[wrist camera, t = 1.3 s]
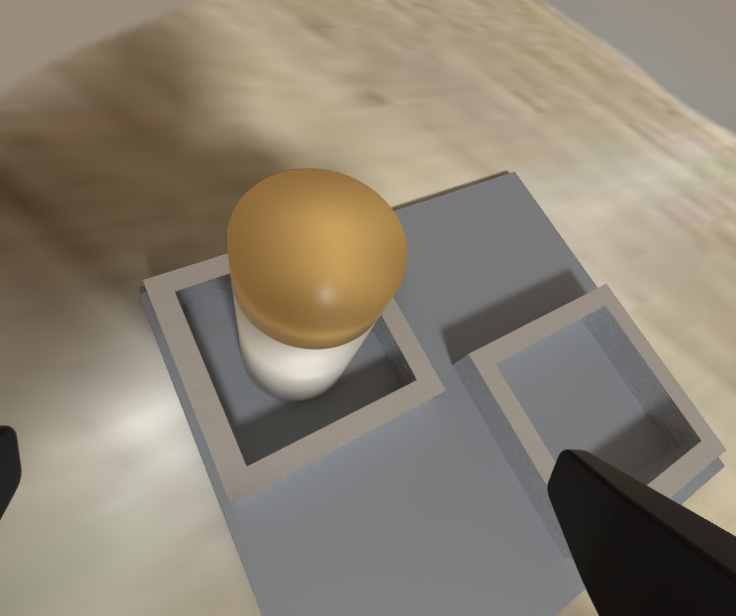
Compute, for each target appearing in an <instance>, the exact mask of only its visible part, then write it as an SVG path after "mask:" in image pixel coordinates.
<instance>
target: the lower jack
mask: <svg viewBox="0 0 736 616" xmlns="http://www.w3.org/2000/svg"><path fill="white" fill-rule="evenodd" d="M580 319H582V321H583V322H584V323H585V325H586V326H587V328H588V329H589V331H590V332H591V334H592V335H593V337H594V338H595V340H596V341H597V342H598V344H599V345H600V347H601V348H602V350H603V351H604V353H605V354H606V356H607V357H608V358H609V360H610V361H611V363H612V364H613V366H614V367H615V369H616V370H617V372H618V373H619V374H620V376H621V377H622V379H623V380H624V382H625V383H626V385H627V386H628V388H629V389H630V390H631V392H632V393H633V395H634V396H635V398H636V399H637V401H638V402H639V404H640V405H641V406H642V408H643V409H644V411H645V412H646V414H647V415H648V417H649V418H650V420H651V421H652V422H653V424H654V425H655V427H656V428H657V430H658V431H659V433H660V434H661V436H662V437H663V438H664V440H665V441H666V443H667V444H668V446H666V447H665V448H664V449H662V450H661V451H660V452H659V453H657V454H656V455H655V456H653V457H652V458H651V459H650V460H648V461H647V462H646V463H645V464H643V465H642V466H641V467H639V468H638V469H637V470H636V471H634V472H633V473H632V474H630V476H631V477H633V478H635V479H637V480H638V481H640V482H642V483H644V484H645V485H647V486H649V487H651V488H652V489H654V490H656V491H658V492H659V493H661V494H663V495H664V496H666V497H668V498H671V497H672V496H673V495H674V494H675V493H677V492H678V491H679V490H680V489H681V488H682V487H684V486H685V485H686V484H687V483H688V482H689V481H691V480H692V479H693V478H694V477H695V476H696V475H698V474H699V473H700V472H701V471H702V470H703V469H705V468H706V467H707V466H708V465H709V464H710V463H712V462H713V461H714V460H715V459H716V458H717V457H719V456H720V455H721V454H722V453H723V452H725V451H726V449H725V448H724V446H723V445H722V443H721V442H720V441H719V439H718V438H717V436H716V435H715V434H714V432H713V431H712V430H711V428H710V427H709V425H708V424H707V423H706V421H705V420H704V418H703V417H702V416H701V414H700V413H699V412H698V410H697V409H696V407H695V406H694V405H693V403H692V402H691V400H690V399H689V398H688V396H687V395H686V394H685V392H684V391H683V389H682V388H681V387H680V385H679V384H678V382H677V381H676V380H675V378H674V377H673V376H672V374H671V373H670V371H669V370H668V369H667V367H666V366H665V364H664V363H663V362H662V360H661V359H660V358H659V356H658V355H657V353H656V352H655V351H654V349H653V348H652V346H651V345H650V344H649V342H648V341H647V340H646V338H645V337H644V335H643V334H642V333H641V331H640V330H639V328H638V327H637V326H636V324H635V323H634V321H633V320H632V319H631V317H630V316H629V315H628V313H627V312H626V310H625V309H624V308H623V306H622V305H621V303H620V302H619V301H618V299H617V298H616V297H615V295H614V294H613V292H612V291H611V290H610V288H609V287H608V285H607V284H605V285H603V286H601V287H599V288H597V289H595V290H593V291H591V292H589V293H587V294H585V295H583V296H581V297H579V298H578V299H576V300H574V301H572V302H570V303H568V304H566V305H564V306H562V307H560V308H558V309H556V310H554V311H552V312H550V313H548V314H546V315H544V316H542V317H540V318H538V319H536V320H534V321H532V322H530V323H528V324H526V325H524V326H522V327H520V328H519V329H517V330H515V331H513V332H511V333H509V334H507V335H505V336H503V337H501V338H499V339H497V340H495V341H493V342H491V343H489V344H487V345H485V346H483V347H481V348H479V349H477V350H475V351H473V352H471V353H469V354H468V355H466V356H465V357H463V358H462V359H460V360H459V361H458V362H456V363H455V364H453V365H452V366H453V368H454V370H455V371H456V373H457V375H458V376H459V378H460V380H461V382H462V383H463V385H464V387H465V389H466V390H467V392H468V394H469V395H470V397H471V399H472V401H473V402H474V404H475V406H476V408H477V409H478V411H479V413H480V414H481V416H482V418H483V420H484V421H485V423H486V425H487V427H488V428H489V430H490V432H491V434H492V435H493V437H494V439H495V440H496V442H497V444H498V446H499V447H500V449H501V451H502V453H503V454H504V456H505V458H506V459H507V461H508V463H509V465H510V466H511V468H512V470H513V472H514V473H515V475H516V477H517V478H518V480H519V482H520V484H521V485H522V487H523V489H524V491H525V492H526V494H527V496H528V498H529V499H530V501H531V503H532V504H533V506H534V508H535V510H536V511H537V513H538V515H539V517H540V518H541V520H542V522H543V523H544V525H545V527H546V529H547V530H548V532H549V534H550V536H551V537H552V539H553V541H554V542H555V544H556V546H557V548H558V549H559V551H560V553H561V555H562V556H563V558H567V559H572V560H573V558H572V555H571V553H570V550H569V548H568V545H567V542H566V540H565V537H564V535H563V532H562V530H561V527H560V525H559V522H558V520H557V517H556V515H555V512H554V510H553V507H552V504H551V502H550V499H549V496H548V492H547V485H548V481H549V478H550V476H551V473H552V471H553V468H554V466H555V463H556V462H555V461H554V459H553V458H552V456H551V454H550V453H549V451H548V449H547V448H546V446H545V444H544V443H543V441H542V439H541V438H540V436H539V435H538V433H537V431H536V430H535V428H534V426H533V425H532V423H531V421H530V420H529V418H528V416H527V415H526V413H525V411H524V410H523V408H522V407H521V405H520V403H519V402H518V400H517V398H516V397H515V395H514V393H513V392H512V390H511V388H510V387H509V385H508V384H507V382H506V380H505V379H504V377H503V375H502V374H501V372H500V370H499V369H498V367H497V365H496V364H498V363H499V362H501V361H503V360H505V359H507V358H509V357H511V356H512V355H514V354H516V353H518V352H520V351H522V350H524V349H526V348H527V347H529V346H531V345H533V344H535V343H537V342H539V341H540V340H542V339H544V338H546V337H548V336H550V335H552V334H554V333H555V332H557V331H559V330H561V329H563V328H565V327H567V326H568V325H570V324H572V323H574V322H576V321H578V320H580Z"/></svg>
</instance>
